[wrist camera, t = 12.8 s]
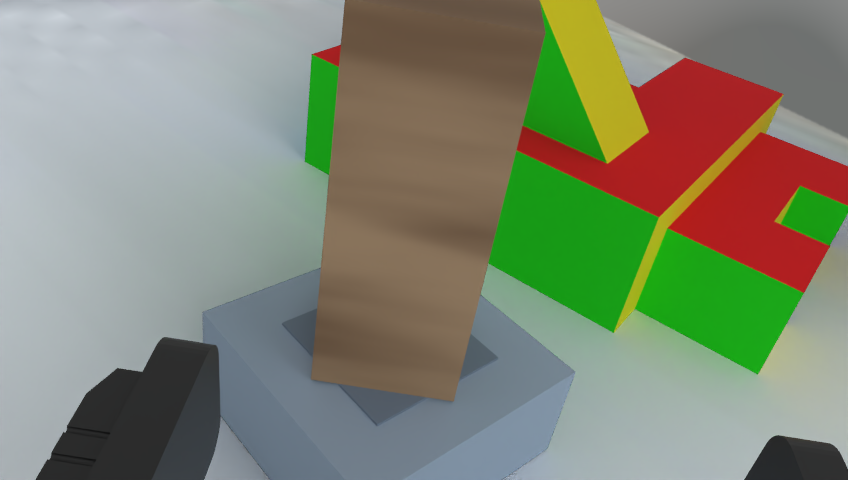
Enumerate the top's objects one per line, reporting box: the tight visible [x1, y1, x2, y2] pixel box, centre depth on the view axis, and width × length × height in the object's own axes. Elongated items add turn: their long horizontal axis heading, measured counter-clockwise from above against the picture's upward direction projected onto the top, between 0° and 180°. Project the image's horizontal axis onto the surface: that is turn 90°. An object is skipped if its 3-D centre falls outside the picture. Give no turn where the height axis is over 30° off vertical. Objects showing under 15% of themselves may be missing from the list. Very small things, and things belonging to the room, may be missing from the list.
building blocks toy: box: [305, 0, 848, 374], centre depth 39 cm, size 19×25×18 cm
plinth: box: [203, 268, 575, 480], centre depth 27 cm, size 9×9×4 cm
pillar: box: [311, 0, 546, 402], centre depth 22 cm, size 4×4×12 cm
